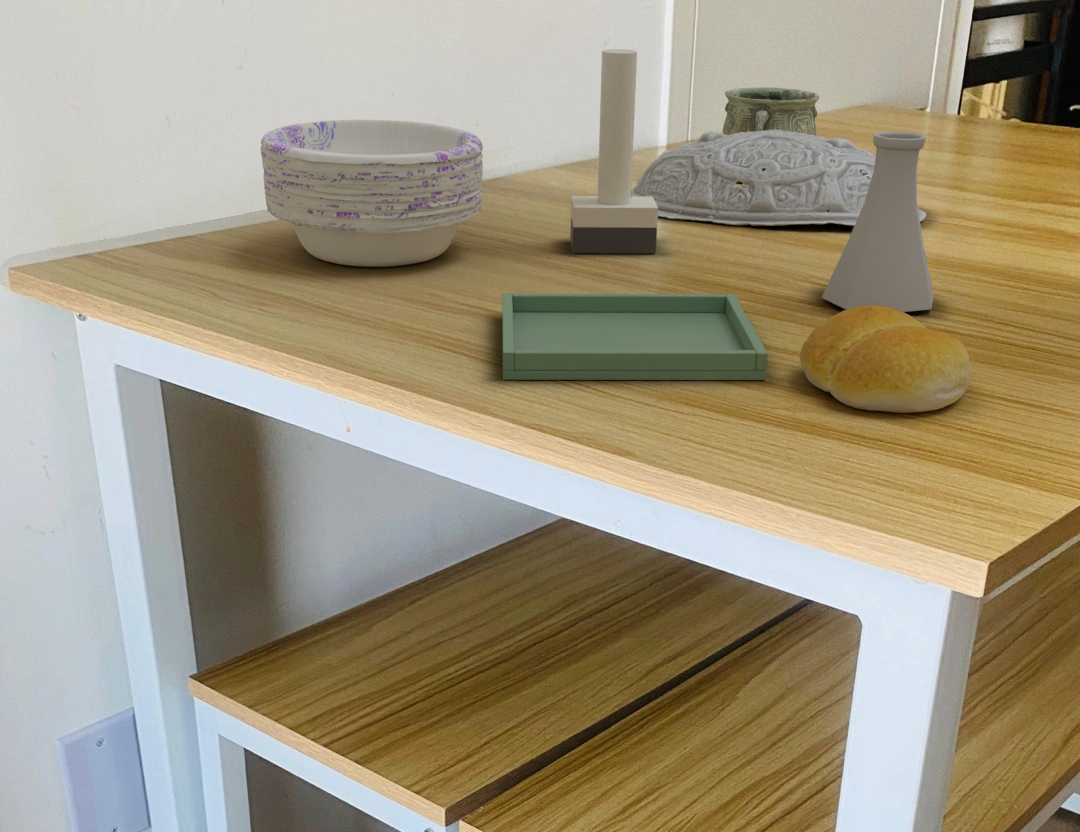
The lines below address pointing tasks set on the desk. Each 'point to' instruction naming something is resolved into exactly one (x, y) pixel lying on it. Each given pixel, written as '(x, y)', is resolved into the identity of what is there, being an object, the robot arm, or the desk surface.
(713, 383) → the desk surface
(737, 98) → the vessel
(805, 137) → the grey carved stone ornament
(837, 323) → the bread roll
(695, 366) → the tray
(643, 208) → the brush
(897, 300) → the flask
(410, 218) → the paper bowls
